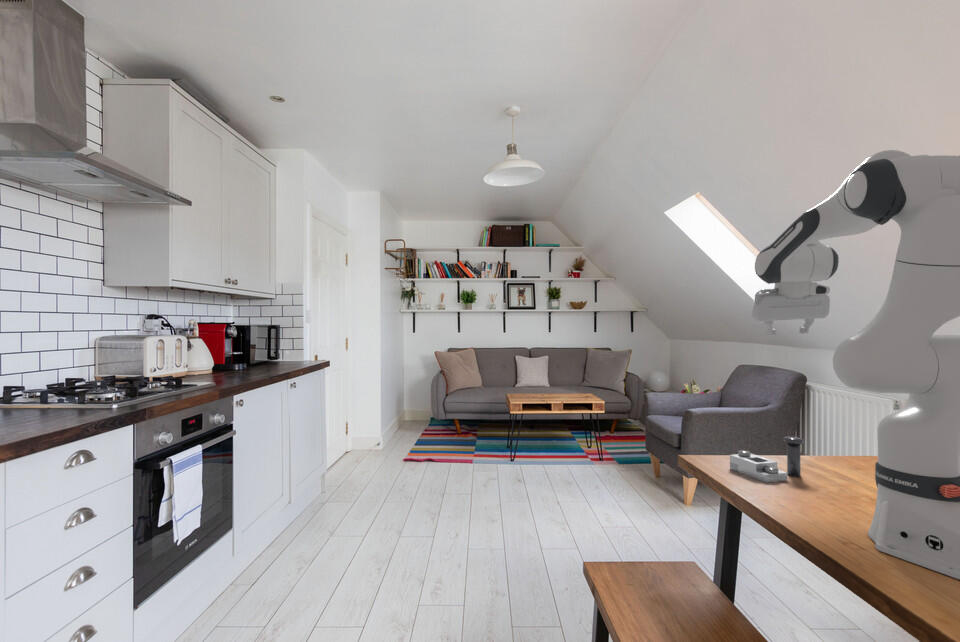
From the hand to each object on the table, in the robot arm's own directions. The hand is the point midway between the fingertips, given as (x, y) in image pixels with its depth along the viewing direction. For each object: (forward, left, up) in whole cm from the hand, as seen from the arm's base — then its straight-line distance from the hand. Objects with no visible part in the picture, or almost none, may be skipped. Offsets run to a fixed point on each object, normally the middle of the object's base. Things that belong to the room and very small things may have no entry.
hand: (787, 333), depth 136 cm
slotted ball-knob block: (-5, +16, -38) cm, 42 cm away
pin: (-8, +7, -38) cm, 40 cm away
